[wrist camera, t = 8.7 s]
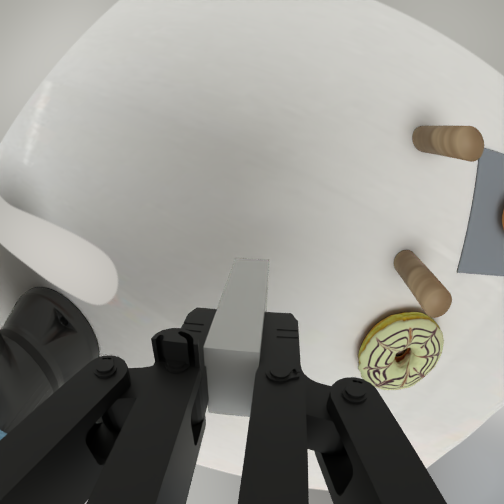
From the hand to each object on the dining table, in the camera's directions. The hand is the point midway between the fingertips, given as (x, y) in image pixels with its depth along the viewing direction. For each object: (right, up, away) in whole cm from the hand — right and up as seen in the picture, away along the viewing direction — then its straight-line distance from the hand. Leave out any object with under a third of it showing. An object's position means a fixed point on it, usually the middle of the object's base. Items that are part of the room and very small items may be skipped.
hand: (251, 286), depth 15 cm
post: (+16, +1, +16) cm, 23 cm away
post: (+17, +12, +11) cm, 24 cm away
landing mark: (+30, +5, +13) cm, 33 cm away
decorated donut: (+17, -9, +20) cm, 28 cm away
